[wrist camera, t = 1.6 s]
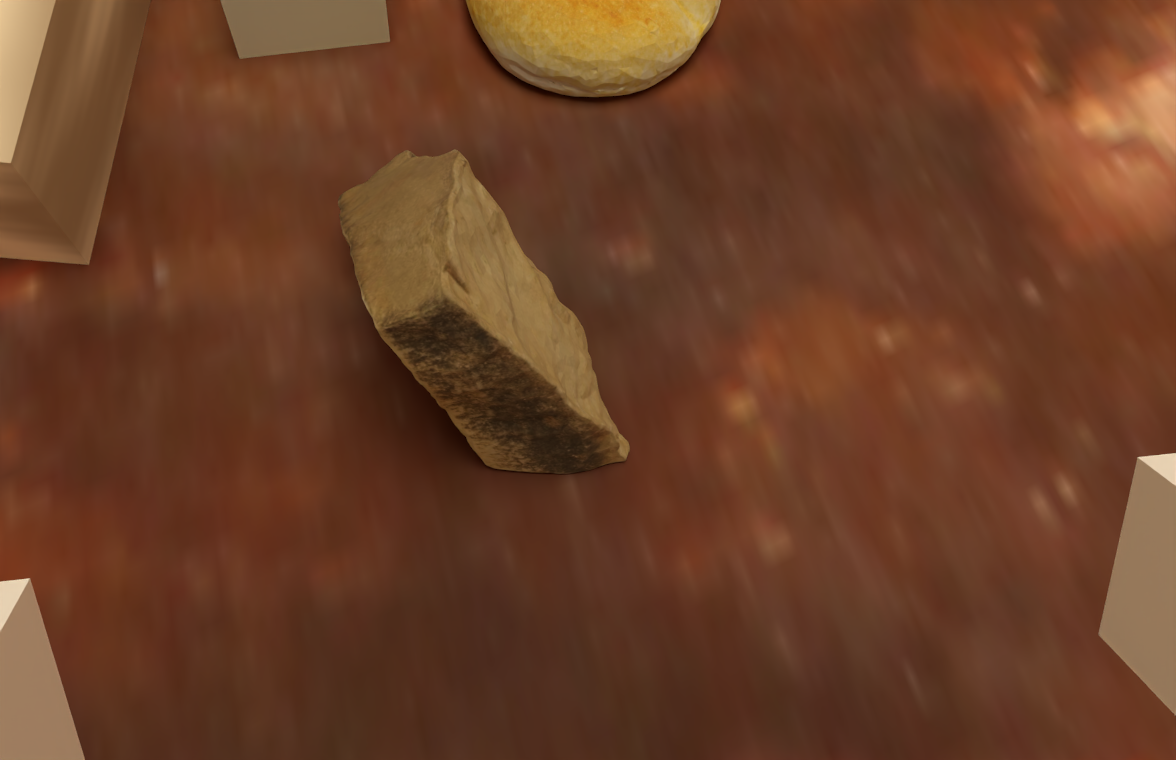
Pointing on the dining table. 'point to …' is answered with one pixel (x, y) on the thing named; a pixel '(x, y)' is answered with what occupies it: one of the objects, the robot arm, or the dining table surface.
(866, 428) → the dining table surface
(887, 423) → the dining table surface
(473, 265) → the rock
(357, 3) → the pale cream cube
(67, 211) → the beech block
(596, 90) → the bread roll
